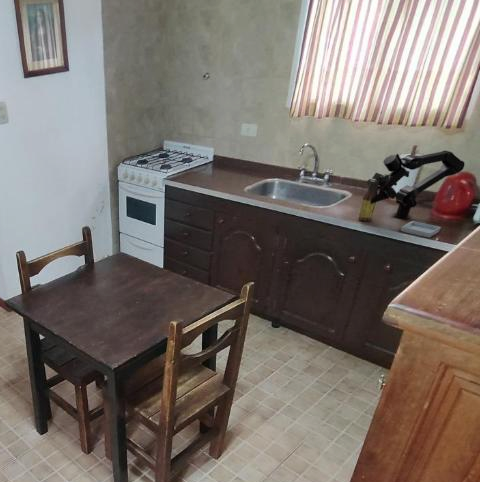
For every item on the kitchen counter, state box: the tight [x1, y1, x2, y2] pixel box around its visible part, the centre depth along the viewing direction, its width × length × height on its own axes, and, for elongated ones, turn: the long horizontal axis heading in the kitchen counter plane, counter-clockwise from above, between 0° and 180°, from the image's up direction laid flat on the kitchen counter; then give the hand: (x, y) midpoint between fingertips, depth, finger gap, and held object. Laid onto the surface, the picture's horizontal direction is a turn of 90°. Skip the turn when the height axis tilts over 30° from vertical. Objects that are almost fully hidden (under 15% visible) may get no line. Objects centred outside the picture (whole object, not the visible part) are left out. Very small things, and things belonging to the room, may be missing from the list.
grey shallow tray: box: [400, 220, 442, 239], centre depth 233 cm, size 12×13×2 cm
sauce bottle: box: [358, 179, 379, 222], centre depth 244 cm, size 6×6×20 cm
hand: (366, 201), depth 244 cm, fingers closed on sauce bottle, 6 cm apart
